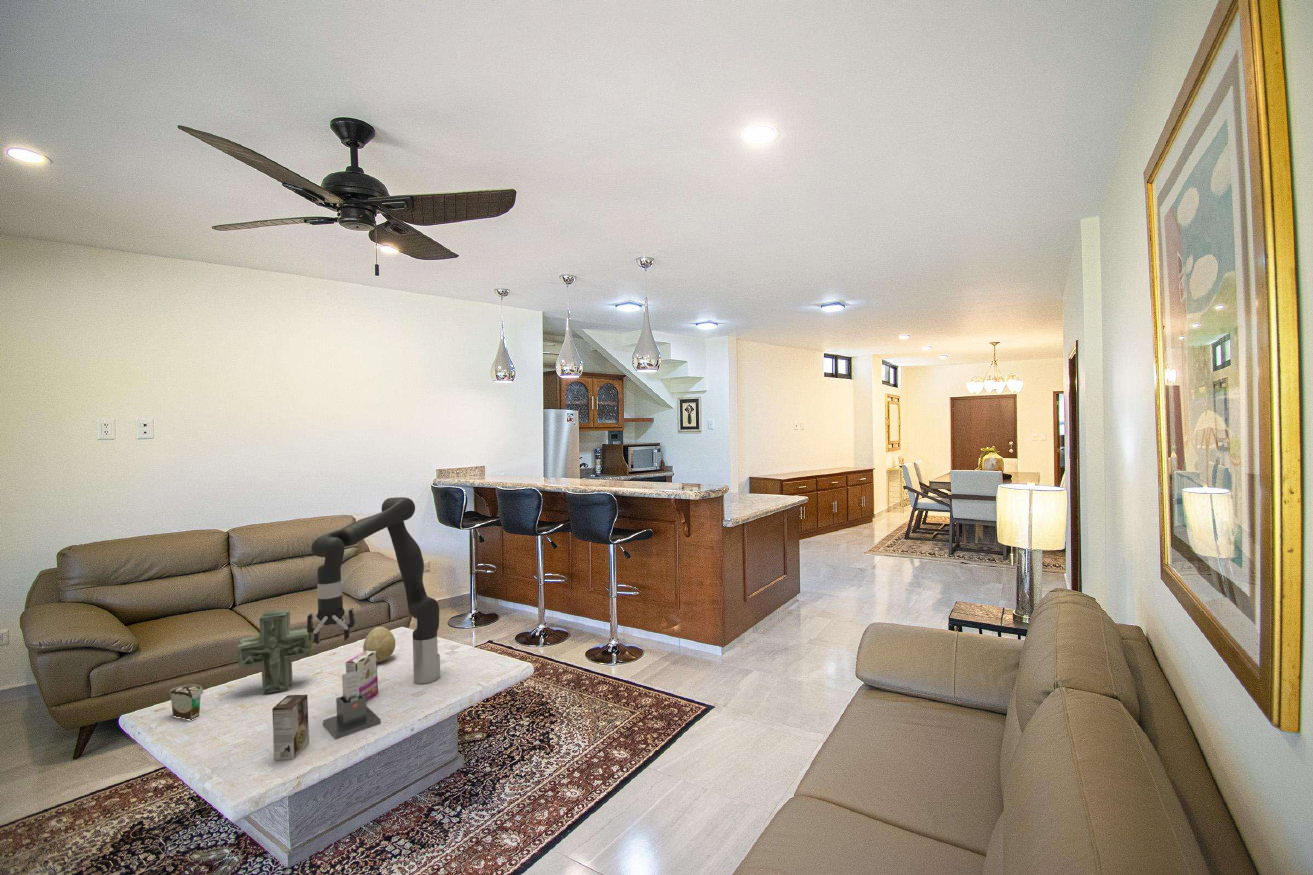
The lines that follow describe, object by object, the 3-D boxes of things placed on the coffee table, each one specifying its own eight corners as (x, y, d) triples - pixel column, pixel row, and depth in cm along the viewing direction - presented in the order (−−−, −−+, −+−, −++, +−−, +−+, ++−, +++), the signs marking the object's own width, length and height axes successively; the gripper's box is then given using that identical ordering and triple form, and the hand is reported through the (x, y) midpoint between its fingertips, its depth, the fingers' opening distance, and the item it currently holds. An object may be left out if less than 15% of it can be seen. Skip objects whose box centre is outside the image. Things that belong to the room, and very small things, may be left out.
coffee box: (288, 744, 187) (287, 694, 187) (309, 743, 188) (308, 693, 188) (272, 760, 178) (271, 708, 178) (294, 759, 179) (293, 706, 178)
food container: (212, 713, 210) (211, 685, 210) (193, 721, 204) (192, 693, 204) (188, 708, 214) (187, 681, 214) (170, 716, 208) (169, 688, 208)
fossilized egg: (370, 656, 261) (369, 623, 261) (399, 654, 262) (398, 621, 262) (358, 667, 248) (357, 632, 248) (390, 665, 249) (389, 631, 249)
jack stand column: (356, 715, 203) (355, 670, 203) (360, 719, 200) (359, 674, 199) (343, 719, 200) (341, 674, 200) (347, 724, 197) (346, 678, 196)
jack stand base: (366, 709, 210) (365, 682, 210) (380, 723, 200) (379, 694, 200) (323, 724, 200) (322, 695, 200) (335, 739, 190) (334, 708, 190)
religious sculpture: (237, 701, 219) (235, 621, 219) (244, 689, 229) (242, 613, 229) (311, 688, 229) (309, 612, 228) (314, 677, 239) (312, 604, 239)
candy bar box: (367, 692, 224) (365, 649, 224) (378, 693, 223) (377, 650, 223) (346, 705, 213) (344, 661, 213) (358, 706, 212) (356, 662, 212)
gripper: (354, 589, 206) (356, 634, 207) (308, 594, 202) (311, 640, 202) (351, 595, 199) (353, 642, 200) (303, 600, 195) (305, 648, 195)
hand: (332, 641), depth 201 cm, fingers open, 8 cm apart
